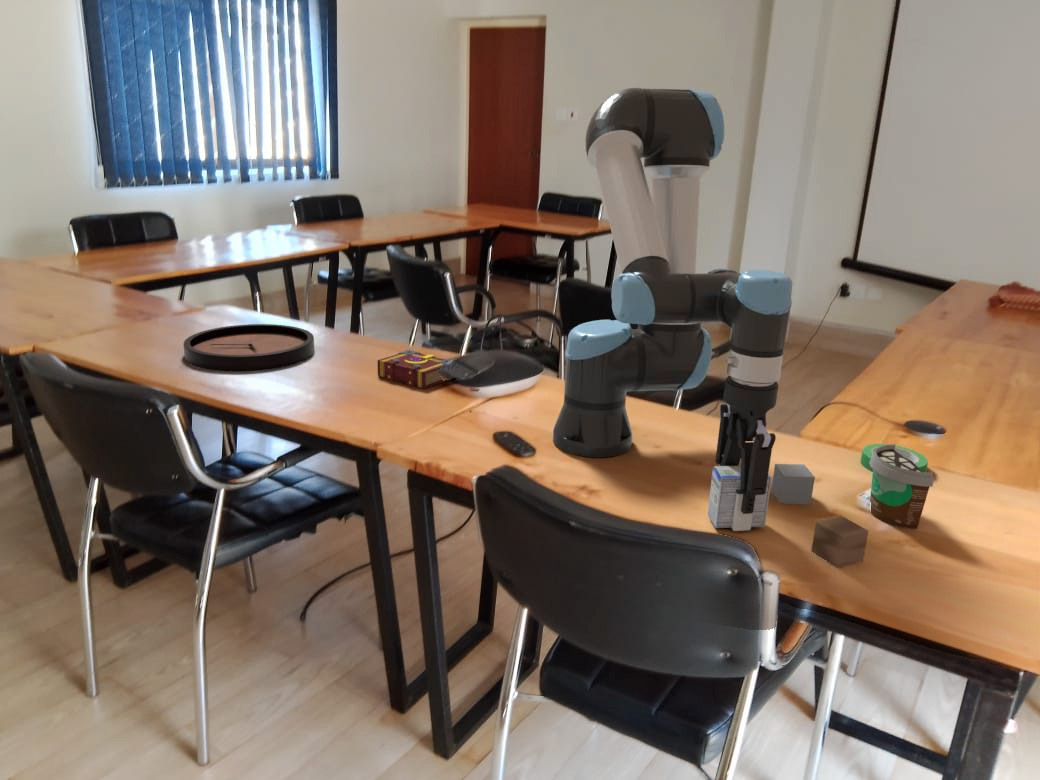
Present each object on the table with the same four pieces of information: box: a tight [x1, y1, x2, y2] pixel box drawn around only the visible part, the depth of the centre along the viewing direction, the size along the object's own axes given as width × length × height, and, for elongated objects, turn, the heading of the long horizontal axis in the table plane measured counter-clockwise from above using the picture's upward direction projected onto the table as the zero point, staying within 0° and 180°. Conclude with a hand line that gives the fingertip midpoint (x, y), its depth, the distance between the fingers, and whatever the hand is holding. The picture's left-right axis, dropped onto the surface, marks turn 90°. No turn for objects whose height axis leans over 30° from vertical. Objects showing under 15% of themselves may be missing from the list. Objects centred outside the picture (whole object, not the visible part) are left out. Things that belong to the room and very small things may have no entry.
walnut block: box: [811, 515, 869, 569], centre depth 116 cm, size 5×5×5 cm
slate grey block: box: [770, 463, 816, 505], centre depth 134 cm, size 5×5×5 cm
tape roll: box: [860, 443, 929, 473], centre depth 148 cm, size 11×11×3 cm
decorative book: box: [377, 349, 450, 389], centre depth 190 cm, size 11×16×5 cm
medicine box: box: [707, 465, 773, 529], centre depth 124 cm, size 8×4×9 cm, turn 94°
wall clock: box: [183, 323, 316, 373], centre depth 205 cm, size 31×4×31 cm
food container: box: [869, 443, 934, 530], centre depth 128 cm, size 12×6×10 cm, turn 4°
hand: (733, 520), depth 125 cm, fingers closed on medicine box, 5 cm apart
